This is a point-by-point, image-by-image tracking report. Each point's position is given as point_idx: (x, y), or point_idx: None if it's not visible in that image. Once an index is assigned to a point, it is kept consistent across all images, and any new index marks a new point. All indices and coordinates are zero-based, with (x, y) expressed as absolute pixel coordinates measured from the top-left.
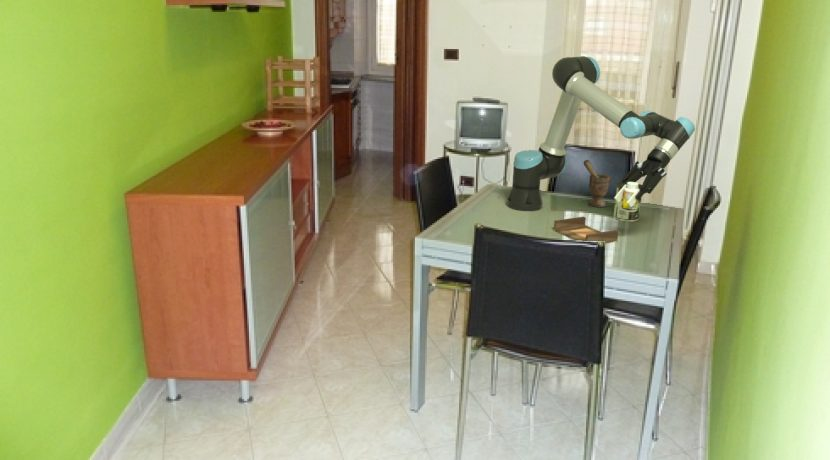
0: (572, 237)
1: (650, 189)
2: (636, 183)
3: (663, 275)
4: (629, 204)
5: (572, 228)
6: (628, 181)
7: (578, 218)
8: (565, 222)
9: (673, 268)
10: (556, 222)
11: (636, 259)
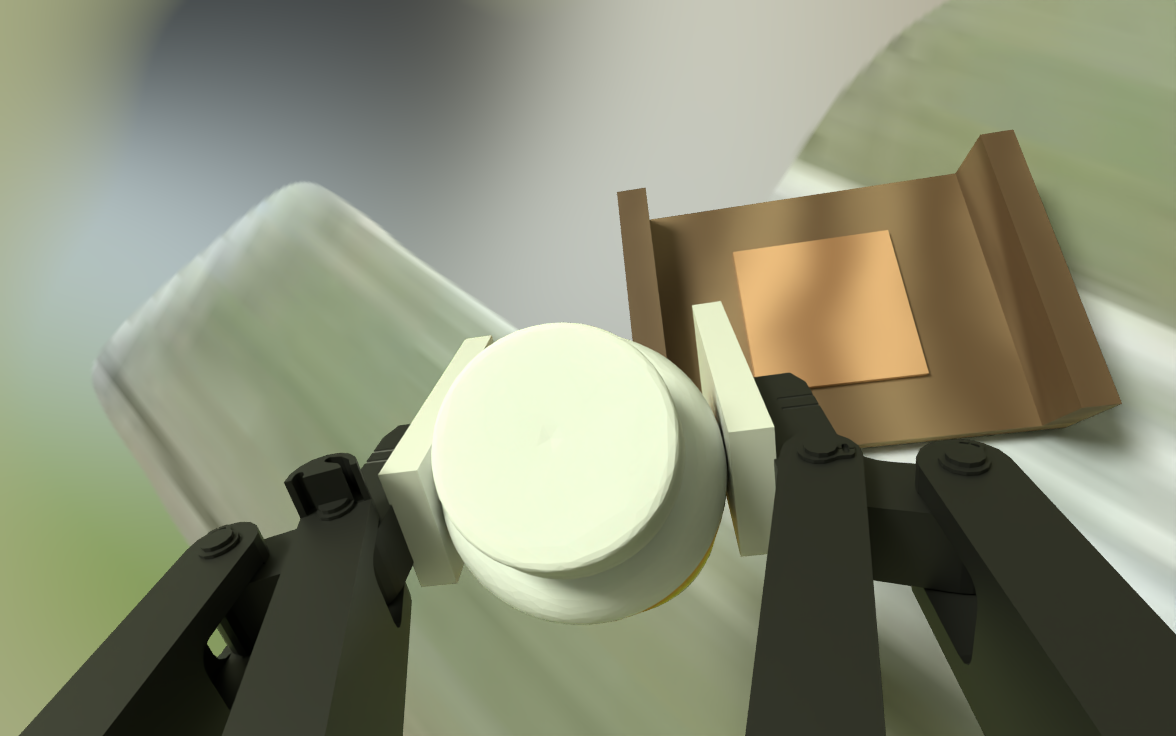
0: (772, 203)
1: (241, 674)
2: (495, 505)
3: (132, 365)
4: None
5: (954, 283)
6: (782, 496)
7: (1055, 329)
8: (998, 215)
9: (156, 485)
10: (982, 139)
11: (345, 376)
